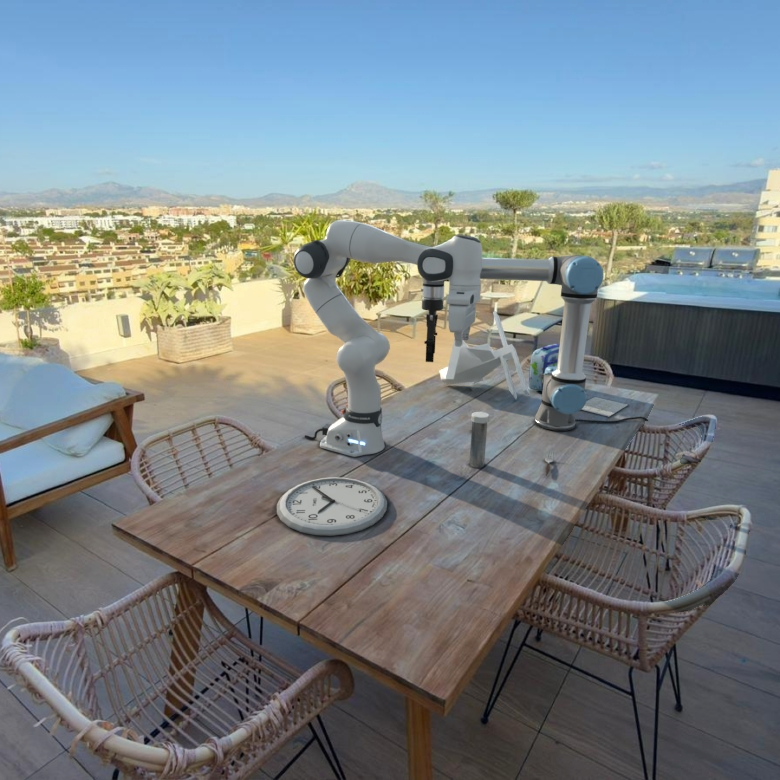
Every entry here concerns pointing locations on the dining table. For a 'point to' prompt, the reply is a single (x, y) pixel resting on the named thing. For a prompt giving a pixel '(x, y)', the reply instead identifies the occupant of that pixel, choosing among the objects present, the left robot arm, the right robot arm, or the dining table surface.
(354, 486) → the wall clock
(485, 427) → the grey cylinder
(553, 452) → the fork
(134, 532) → the dining table surface
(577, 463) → the dining table surface
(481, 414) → the lid
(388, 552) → the dining table surface
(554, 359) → the lunch box
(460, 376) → the white plastic object
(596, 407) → the invitation card
